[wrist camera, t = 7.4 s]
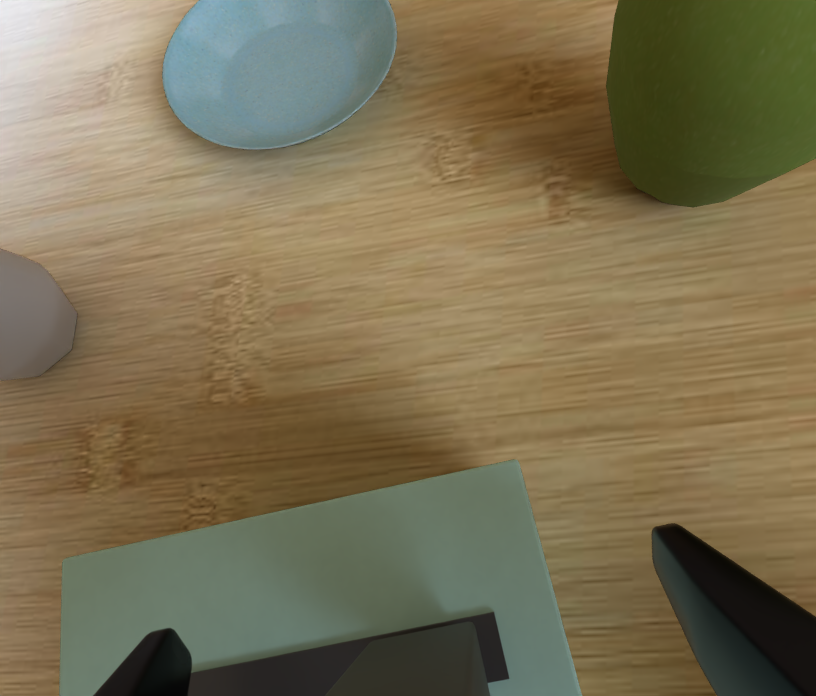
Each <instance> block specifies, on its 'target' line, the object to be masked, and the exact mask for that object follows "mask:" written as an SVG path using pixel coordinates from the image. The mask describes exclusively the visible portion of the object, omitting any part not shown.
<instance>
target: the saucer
mask: <svg viewBox="0 0 816 696" xmlns="http://www.w3.org/2000/svg"><path fill="white" fill-rule="evenodd" d="M396 42H397V27H396V21H395V17H394V13H393V11H392V8H391V4H390V3H389V1H388V0H199V1H198V2H197V3H196V4H195V5H194V6H193V7H192V8H191V9H190V10H189V11H188V13H187V14H186V15H185V16H184V18H183V19H182V21H181V22H180V24H179V25H178V27H177V29H176V31H175V32H174V34H173V36H172V38H171V40H170V42H169V44H168V46H167V50H166V53H165V57H164V62H163V72H162V79H163V86H164V91H165V95H166V98H167V100H168V102H169V106H170V107H171V108H172V110H173V112H174V114H175V115H176V117H177V118H178V119H179V120H180V121H181V122H182V123H183V124H184V125H185V126H186V127H187V128H189V129H190V130H191V131H192V132H194V133H195V134H197V135H198V136H200V137H202V138H204V139H206V140H208V141H211V142H213V143H216V144H218V145H222V146H226V147H232V148H237V149H245V150H247V149H248V150H264V149H275V148H282V147H287V146H292V145H295V144H299V143H302V142H305V141H308V140H311V139H313V138H316V137H318V136H320V135H322V134H324V133H326V132H328V131H330V130H332V129H333V128H335V127H337V126H338V125H340V124H341V123H343V122H344V121H346V120H347V119H348V118H350V117H351V116H352V115H353V114H355V113H356V112H357V111H358V110H359V109H360V108H361V107H362V106H363V105H364V104H365V103H366V102H367V101H368V100H369V99H370V97H371V96H372V95H373V94H374V93H375V91H376V90H377V89H378V88H379V86H380V85H381V83H382V82H383V80H384V79H385V77H386V74H387V73H388V72H389V69H390V67H391V63H392V61H393V58H394V54H395V49H396Z"/></svg>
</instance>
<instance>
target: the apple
mask: <svg viewBox="0 0 816 696" xmlns="http://www.w3.org/2000/svg"><path fill="white" fill-rule="evenodd" d="M606 89H607V96H608V103H609V110H610V116H611V123H612V130H613V137H614V144H615V148H616V152H617V156H618V161H619V165H620V168H621V169H622V171H623V172H624V173H625V174H626V176H627V177H628V178H629V179H630V181H631V182H632V183H633V184H634V185H635V187H636V188H637V189H639V190H641V191H644V192H646V193H648V194H650V195H652V196H654V197H655V198H657V199H658V200H659V201H661V202H664V203H668V204H673V205H679V206H687V207H697V206H702V205H708V204H713V203H718V202H724V201H726V200H728V199H730V198H732V197H735V196H737V195H739V194H741V193H743V192H745V191H748V190H750V189H752V188H754V187H756V186H758V185H761V184H763V183H765V182H767V181H769V180H772V179H774V178H776V177H778V176H780V175H782V174H785V173H787V172H789V171H791V170H793V169H795V168H797V167H799V166H801V165H803V164H805V163H807V162H809V161H812V160H814V159H816V0H619V1H618V5H617V9H616V13H615V17H614V25H613V33H612V42H611V50H610V58H609V67H608V75H607V83H606Z"/></svg>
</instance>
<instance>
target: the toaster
mask: <svg viewBox="0 0 816 696" xmlns="http://www.w3.org/2000/svg"><path fill="white" fill-rule="evenodd" d="M468 621H469V622H473V624H474V625H475V628H476V632H477V637H478V642H479V646H480V651H481V655H482V660H483V665H484V669H485V674H486V678H487V683H488V687H489V692H490V696H582V693H581V690H580V686H579V682H578V679H577V675H576V671H575V668H574V664H573V660H572V656H571V653H570V649H569V645H568V642H567V638H566V634H565V631H564V627H563V623H562V619H561V616H560V612H559V608H558V605H557V601H556V597H555V594H554V590H553V586H552V582H551V579H550V575H549V571H548V568H547V564H546V560H545V557H544V553H543V549H542V545H541V542H540V538H539V534H538V531H537V527H536V523H535V520H534V516H533V512H532V508H531V505H530V501H529V497H528V494H527V490H526V486H525V483H524V479H523V475H522V471H521V468H520V464H519V462H518V460H515V459H513V460H509V461H504V462H500V463H495V464H491V465H486V466H481V467H477V468H472V469H468V470H463V471H459V472H454V473H450V474H445V475H441V476H436V477H431V478H427V479H422V480H418V481H413V482H409V483H404V484H400V485H395V486H391V487H386V488H381V489H377V490H372V491H368V492H363V493H359V494H354V495H350V496H345V497H341V498H336V499H331V500H327V501H322V502H318V503H313V504H309V505H304V506H300V507H295V508H291V509H286V510H281V511H277V512H272V513H268V514H263V515H259V516H254V517H250V518H245V519H241V520H236V521H231V522H227V523H222V524H218V525H213V526H209V527H204V528H200V529H195V530H191V531H186V532H181V533H177V534H172V535H168V536H163V537H159V538H154V539H150V540H145V541H141V542H136V543H131V544H127V545H122V546H118V547H113V548H109V549H104V550H100V551H95V552H91V553H86V554H81V555H77V556H72V557H68V558H66V559H64V560H63V562H62V595H61V638H60V681H59V696H93V695H94V694H95V693H96V692H97V690H98V689H99V688H100V687H101V686H102V685H103V684H104V683H105V681H106V680H107V679H108V678H109V677H110V676H111V675H112V673H113V672H114V671H115V670H116V669H117V668H118V667H119V665H120V664H121V663H122V662H123V661H124V660H125V659H126V657H127V656H128V655H129V654H130V653H131V652H132V651H133V650H134V648H135V647H136V646H137V645H138V644H139V643H140V642H141V640H142V639H143V638H144V637H145V636H146V635H147V634H148V633H150V632H152V631H155V630H160V629H165V628H172V629H174V630H175V631H176V632H177V634H178V635H179V637H180V638H181V640H182V641H183V643H184V644H185V646H186V647H187V649H188V650H189V652H190V654H191V657H192V671H191V677H190V684H189V691H188V696H325V695H326V694H327V692H328V691H329V690H330V689H331V688H332V687H333V685H334V684H335V683H336V682H337V681H338V680H339V678H340V677H341V676H342V675H343V674H344V672H345V671H346V670H347V669H348V668H349V667H350V665H351V664H352V663H353V662H354V661H355V660H356V658H357V657H358V656H359V655H360V654H361V652H362V651H363V650H364V649H365V648H366V647H367V645H368V644H369V643H370V642H372V641H374V640H379V639H384V638H389V637H394V636H399V635H404V634H409V633H414V632H419V631H424V630H429V629H434V628H439V627H444V626H449V625H454V624H459V623H464V622H468Z"/></svg>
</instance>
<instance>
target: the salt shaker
mask: <svg viewBox="0 0 816 696" xmlns="http://www.w3.org/2000/svg"><path fill="white" fill-rule="evenodd" d="M76 321H77V312H76V311H75V309H74V308H73V306H72V305H71V303H70V302H69V300H68V299H67V297H66V296H65V294H64V293H63V291H62V290H61V288H60V287H59V285H58V284H57V283H56V281H55V280H54V278H53V277H52V276H51V274H50V273H49V272H48V270H46V269H45V268H44V267H43V266H42V265H40V264H39V263H37V262H34V261H32V260H30V259H27V258H25V257H22V256H20V255H18V254H15V253H12V252H9V251H6V250H3V249H0V381H4V380H12V379H20V378H29V377H37V376H40V375H42V374H43V373H44V372H45V371H47V370H48V369H49V368H50V367H52V366H53V365H54V364H55V363H56V362H58V361H59V360H60V359H61V358H63V357H64V356H65V355H66V354H67V353H69V352H70V351H71V350H72V345H73V339H74V333H75V327H76Z"/></svg>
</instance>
